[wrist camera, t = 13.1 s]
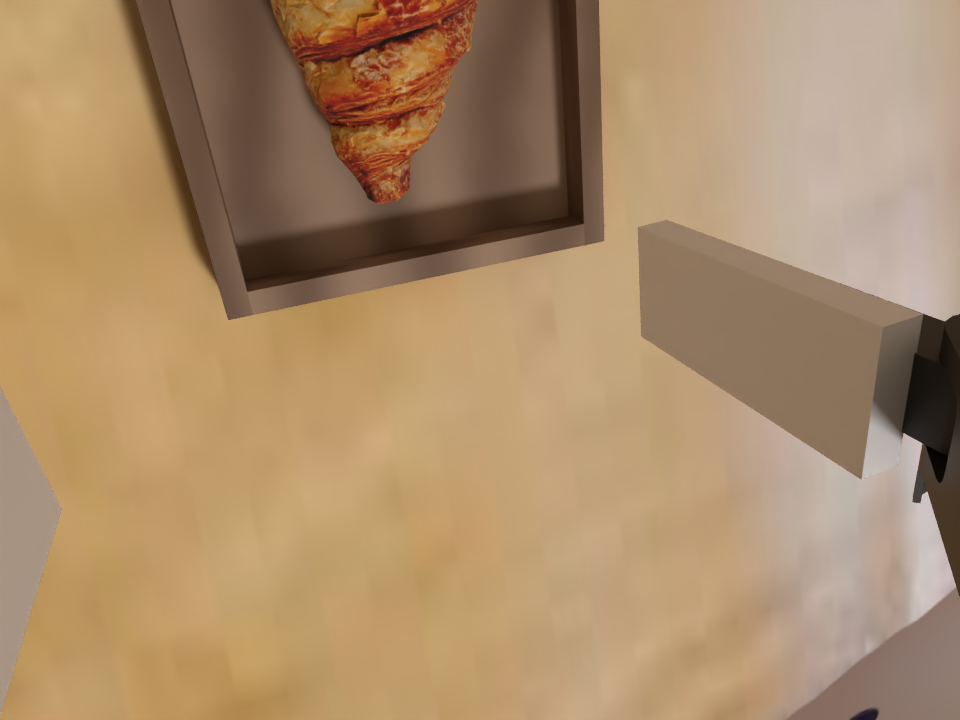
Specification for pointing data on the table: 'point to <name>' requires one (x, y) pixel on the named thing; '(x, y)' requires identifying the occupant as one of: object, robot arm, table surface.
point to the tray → (434, 167)
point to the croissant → (378, 76)
